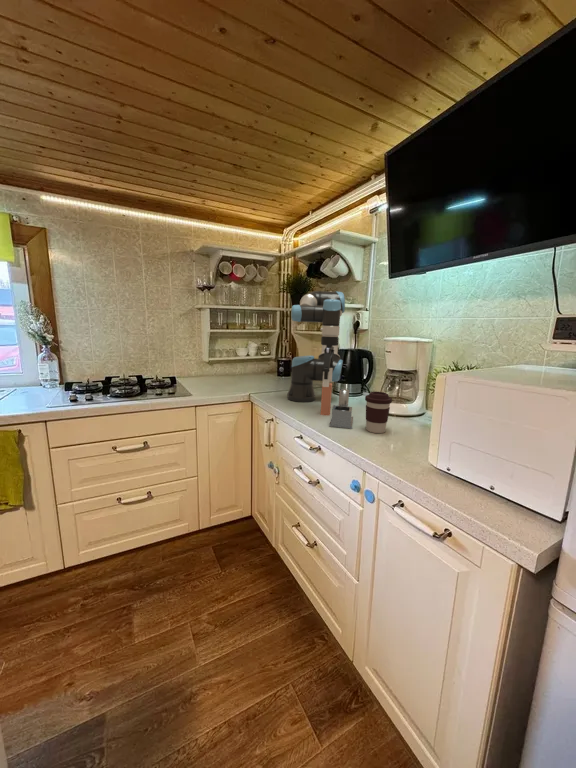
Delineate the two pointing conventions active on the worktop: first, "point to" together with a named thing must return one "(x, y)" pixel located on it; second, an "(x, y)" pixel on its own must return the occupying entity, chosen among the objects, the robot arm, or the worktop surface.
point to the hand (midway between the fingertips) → (327, 384)
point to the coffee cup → (377, 411)
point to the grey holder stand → (342, 412)
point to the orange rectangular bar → (326, 400)
